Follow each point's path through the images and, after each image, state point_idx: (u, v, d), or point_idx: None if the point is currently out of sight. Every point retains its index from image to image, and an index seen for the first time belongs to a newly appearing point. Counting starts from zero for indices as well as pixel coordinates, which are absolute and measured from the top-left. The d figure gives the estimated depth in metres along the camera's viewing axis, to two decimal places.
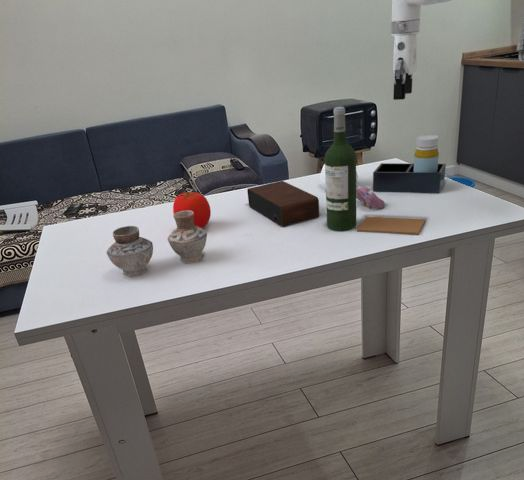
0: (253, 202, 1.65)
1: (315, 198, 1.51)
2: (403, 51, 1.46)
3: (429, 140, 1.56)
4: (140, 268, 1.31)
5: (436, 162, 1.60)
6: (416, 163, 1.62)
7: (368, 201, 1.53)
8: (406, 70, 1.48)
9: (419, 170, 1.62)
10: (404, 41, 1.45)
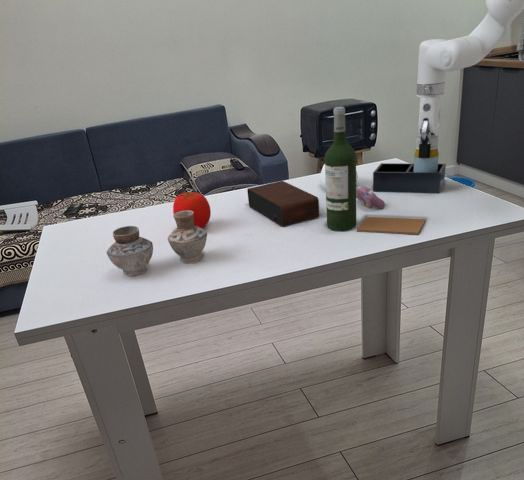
0: (253, 202, 1.65)
1: (315, 198, 1.51)
2: (429, 112, 1.51)
3: None
4: (140, 268, 1.31)
5: (436, 162, 1.60)
6: (416, 163, 1.62)
7: (368, 201, 1.53)
8: (431, 130, 1.53)
9: (419, 170, 1.62)
10: (430, 103, 1.50)
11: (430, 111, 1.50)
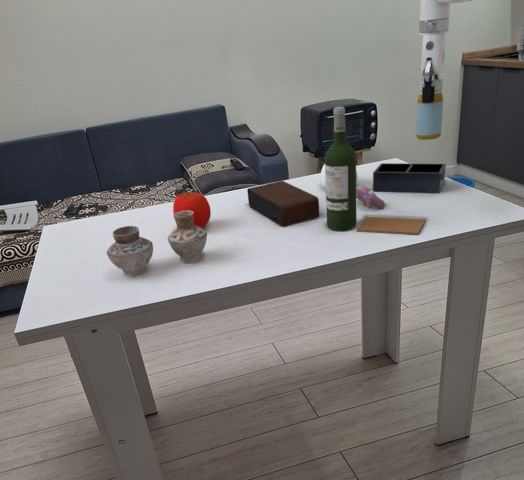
0: (253, 202, 1.65)
1: (315, 198, 1.51)
2: (432, 51, 1.42)
3: None
4: (140, 268, 1.31)
5: (440, 108, 1.51)
6: (419, 109, 1.52)
7: (368, 201, 1.53)
8: (435, 70, 1.44)
9: (422, 117, 1.52)
10: (433, 40, 1.40)
11: (434, 49, 1.41)
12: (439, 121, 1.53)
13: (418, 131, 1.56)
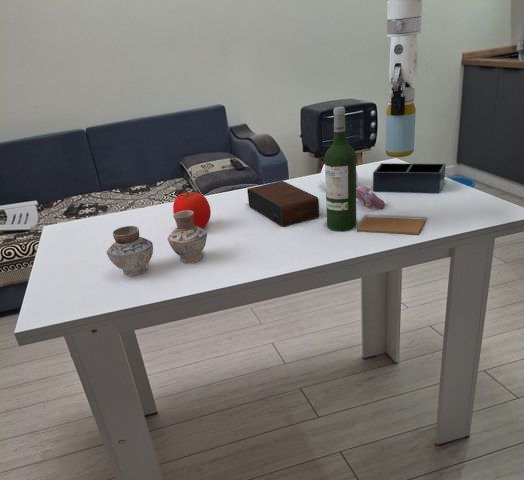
0: (253, 202, 1.65)
1: (315, 198, 1.51)
2: (401, 55, 1.20)
3: None
4: (140, 268, 1.31)
5: (412, 121, 1.30)
6: (388, 123, 1.31)
7: (368, 201, 1.53)
8: (405, 78, 1.23)
9: (392, 132, 1.32)
10: (402, 43, 1.19)
11: (403, 54, 1.20)
12: (411, 136, 1.32)
13: (387, 147, 1.35)
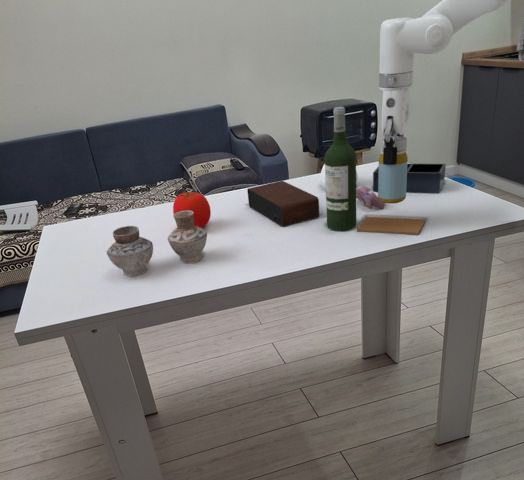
0: (253, 202, 1.65)
1: (315, 198, 1.51)
2: (393, 109, 1.22)
3: None
4: (140, 268, 1.31)
5: (404, 169, 1.32)
6: (380, 170, 1.33)
7: (368, 201, 1.53)
8: (397, 130, 1.25)
9: (384, 179, 1.34)
10: (394, 97, 1.21)
11: (395, 107, 1.22)
12: (403, 184, 1.34)
13: (380, 194, 1.37)
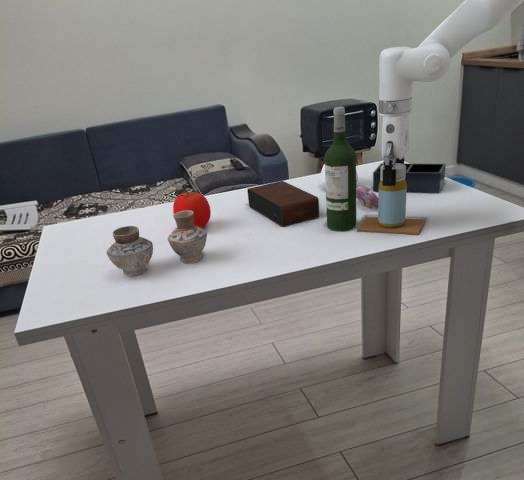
0: (253, 202, 1.65)
1: (315, 198, 1.51)
2: (393, 134, 1.25)
3: None
4: (140, 268, 1.31)
5: (404, 195, 1.36)
6: (380, 196, 1.37)
7: (368, 201, 1.53)
8: (396, 155, 1.28)
9: (384, 205, 1.37)
10: (394, 123, 1.24)
11: (394, 133, 1.25)
12: (402, 209, 1.37)
13: (380, 218, 1.40)
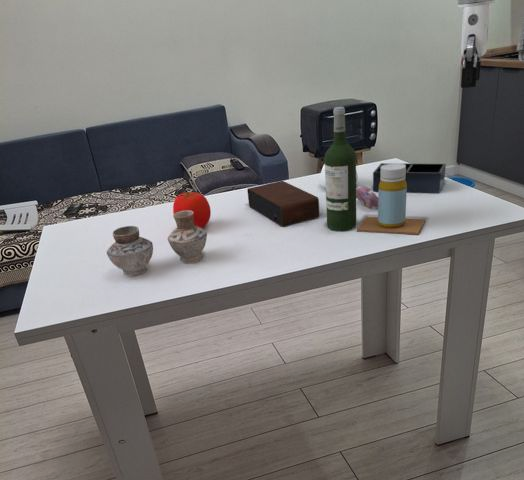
0: (253, 202, 1.65)
1: (315, 198, 1.51)
2: (476, 26, 1.16)
3: (394, 170, 1.32)
4: (140, 268, 1.31)
5: (404, 195, 1.36)
6: (380, 196, 1.37)
7: (368, 201, 1.53)
8: (479, 50, 1.18)
9: (384, 205, 1.37)
10: (477, 13, 1.14)
11: (478, 24, 1.15)
12: (402, 209, 1.37)
13: (380, 218, 1.40)
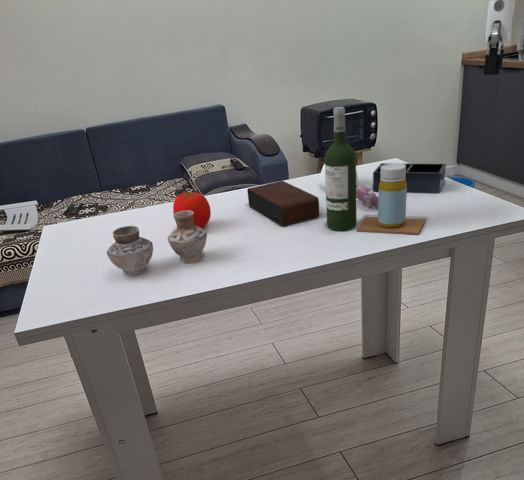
0: (253, 202, 1.65)
1: (315, 198, 1.51)
2: (501, 12, 1.15)
3: (394, 170, 1.32)
4: (140, 268, 1.31)
5: (404, 195, 1.36)
6: (380, 196, 1.37)
7: (368, 201, 1.53)
8: (503, 37, 1.17)
9: (384, 205, 1.37)
10: None
11: (503, 10, 1.15)
12: (402, 209, 1.37)
13: (380, 218, 1.40)
